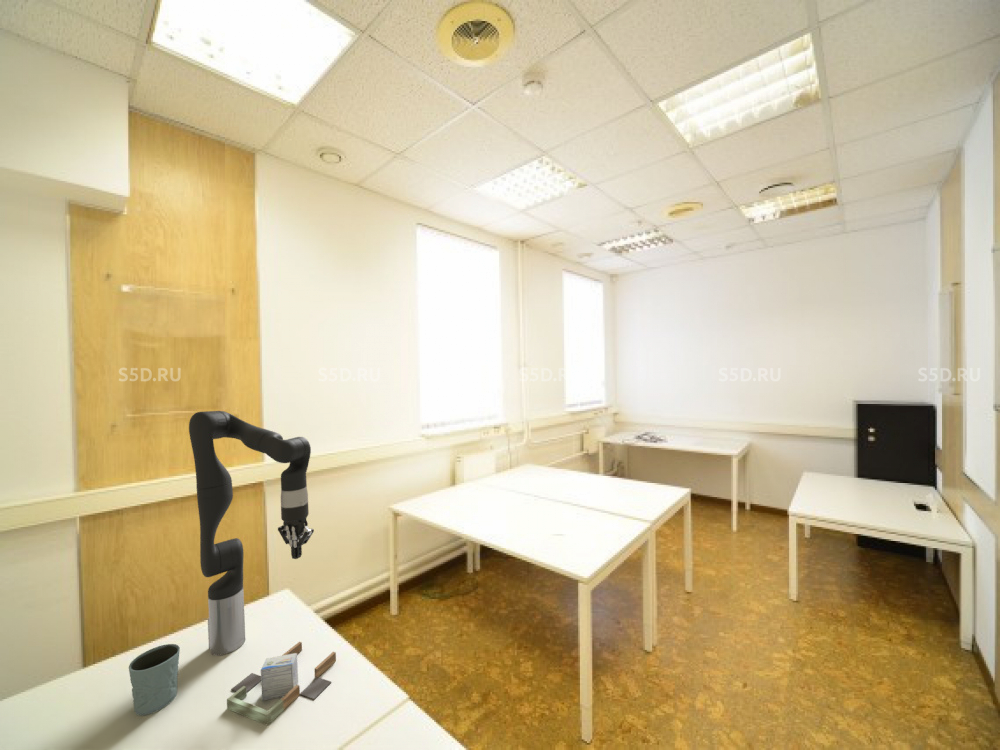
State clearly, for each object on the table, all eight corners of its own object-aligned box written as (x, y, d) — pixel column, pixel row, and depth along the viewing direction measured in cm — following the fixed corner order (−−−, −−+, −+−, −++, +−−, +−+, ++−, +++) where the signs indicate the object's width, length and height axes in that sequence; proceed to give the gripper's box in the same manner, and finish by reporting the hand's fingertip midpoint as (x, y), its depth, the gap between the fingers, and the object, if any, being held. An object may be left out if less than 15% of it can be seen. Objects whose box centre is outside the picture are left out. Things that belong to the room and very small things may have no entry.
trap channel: (214, 703, 103) (213, 694, 103) (287, 645, 124) (287, 638, 124) (282, 731, 94) (282, 721, 94) (349, 664, 115) (349, 656, 115)
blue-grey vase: (121, 722, 98) (119, 675, 98) (145, 690, 108) (143, 647, 108) (169, 711, 101) (167, 665, 101) (188, 681, 111) (186, 639, 111)
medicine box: (298, 682, 109) (297, 651, 109) (294, 695, 105) (293, 663, 105) (267, 688, 107) (266, 657, 107) (261, 702, 103) (260, 669, 103)
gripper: (268, 504, 120) (270, 560, 121) (300, 508, 116) (302, 566, 116) (289, 496, 127) (291, 549, 128) (320, 500, 123) (322, 555, 123)
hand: (296, 557), depth 122 cm, fingers closed
